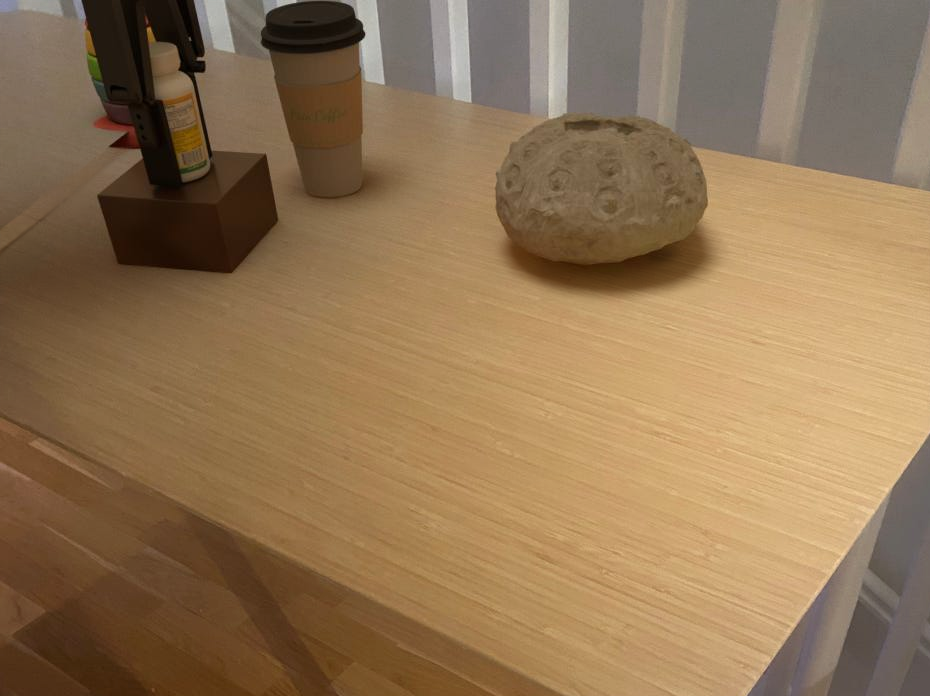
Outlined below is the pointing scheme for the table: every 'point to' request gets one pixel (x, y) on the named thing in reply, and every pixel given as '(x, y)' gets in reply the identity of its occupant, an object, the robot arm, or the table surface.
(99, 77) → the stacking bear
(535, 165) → the decorative shell
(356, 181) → the coffee cup
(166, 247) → the block
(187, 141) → the supplement bottle
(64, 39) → the table surface
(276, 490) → the table surface
